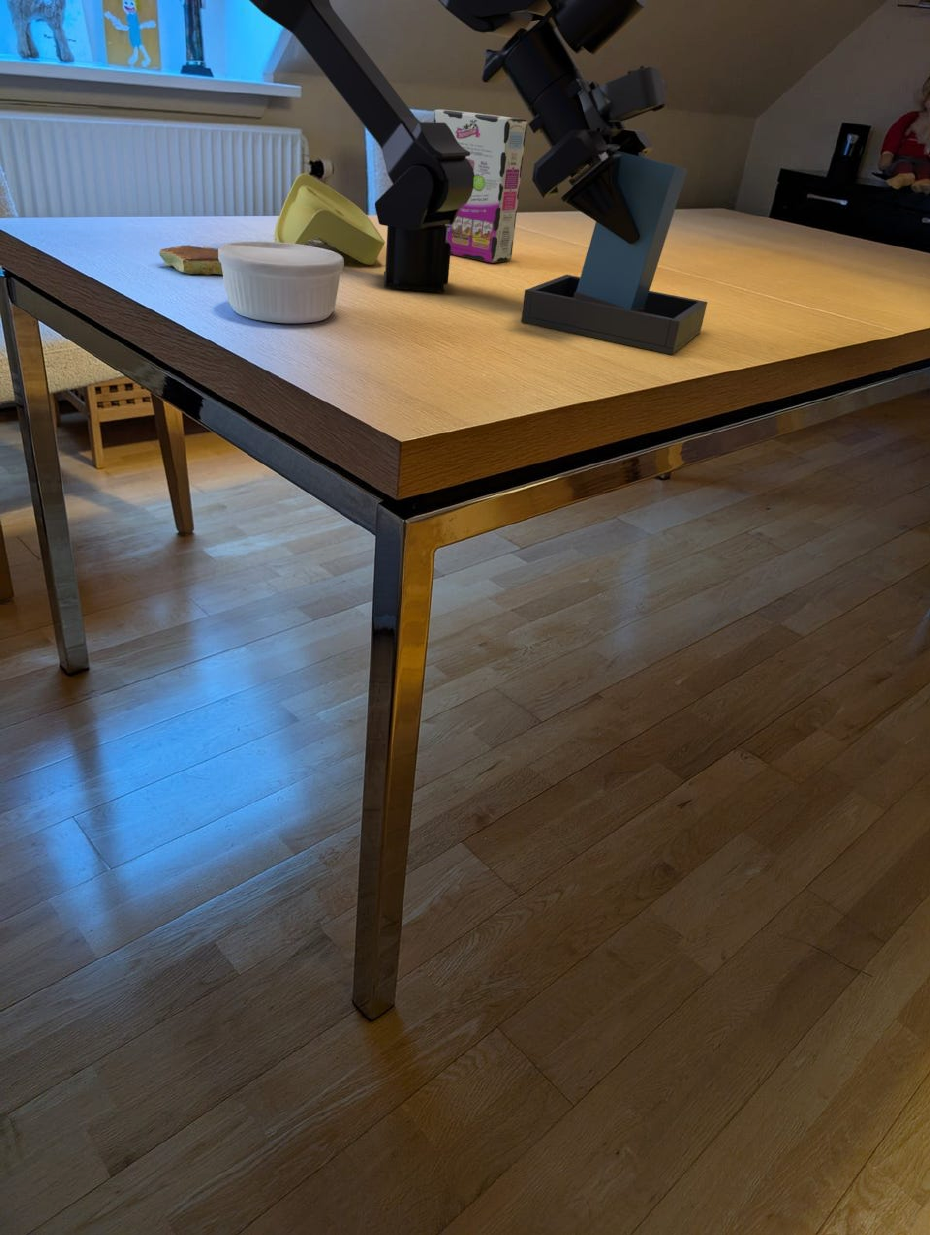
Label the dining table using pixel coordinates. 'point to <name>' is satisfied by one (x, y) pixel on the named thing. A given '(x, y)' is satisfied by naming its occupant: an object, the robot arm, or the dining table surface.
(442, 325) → the dining table surface
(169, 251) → the brown and green slab
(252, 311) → the ramekin
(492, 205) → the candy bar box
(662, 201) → the blue rectangular block
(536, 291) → the dark grey tray
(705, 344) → the dining table surface
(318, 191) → the plastic component
